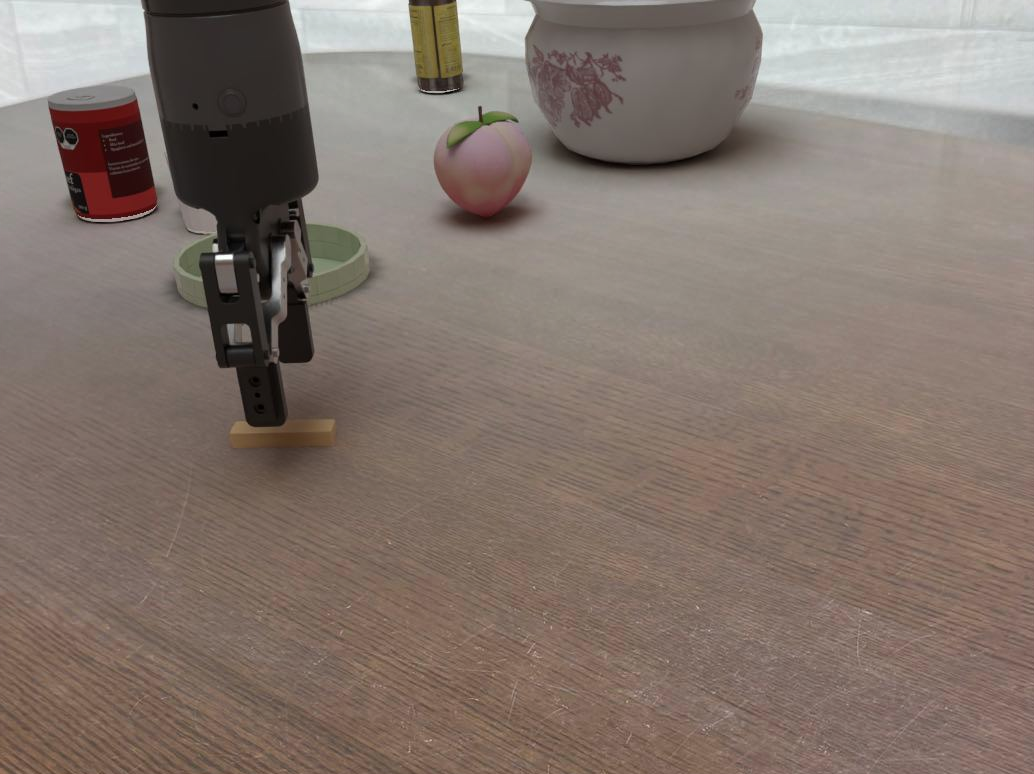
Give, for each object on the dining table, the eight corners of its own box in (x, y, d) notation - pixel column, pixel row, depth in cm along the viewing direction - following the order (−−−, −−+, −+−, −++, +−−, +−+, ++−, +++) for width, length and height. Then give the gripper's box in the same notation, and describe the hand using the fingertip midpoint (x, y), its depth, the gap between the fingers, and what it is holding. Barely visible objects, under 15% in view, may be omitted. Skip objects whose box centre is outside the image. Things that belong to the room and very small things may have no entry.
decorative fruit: (473, 198, 117) (466, 91, 111) (546, 208, 113) (543, 98, 108) (418, 226, 110) (408, 113, 105) (494, 238, 106) (487, 121, 101)
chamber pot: (744, 192, 115) (757, -47, 104) (478, 176, 123) (464, -47, 112) (789, 123, 138) (804, -80, 127) (561, 113, 146) (557, -78, 135)
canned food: (83, 203, 120) (56, 87, 114) (165, 197, 121) (142, 83, 115) (66, 226, 113) (36, 106, 108) (152, 221, 114) (127, 100, 108)
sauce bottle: (464, 83, 162) (454, -82, 151) (463, 94, 157) (452, -77, 146) (417, 85, 162) (403, -80, 151) (414, 96, 157) (399, -75, 146)
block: (235, 469, 72) (229, 433, 70) (242, 456, 73) (235, 420, 72) (335, 466, 71) (330, 430, 70) (340, 454, 73) (335, 418, 71)
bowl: (158, 331, 90) (148, 287, 88) (208, 264, 103) (200, 224, 101) (356, 327, 90) (351, 282, 88) (382, 259, 103) (378, 219, 101)
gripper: (196, 75, 67) (246, 345, 76) (116, 138, 55) (187, 450, 64) (329, 69, 67) (364, 341, 76) (278, 132, 55) (327, 446, 64)
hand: (283, 391), depth 70 cm, fingers open, 8 cm apart
